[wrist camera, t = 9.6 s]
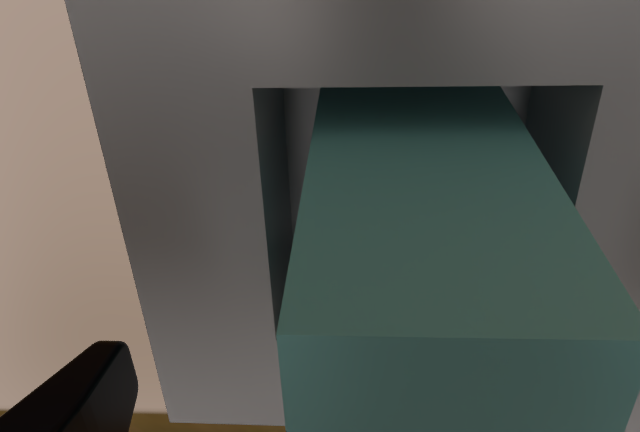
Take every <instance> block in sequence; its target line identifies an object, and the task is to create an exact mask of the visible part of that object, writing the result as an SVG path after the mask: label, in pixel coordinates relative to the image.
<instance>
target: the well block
mask: <svg viewBox="0 0 640 432" xmlns="http://www.w3.org/2000/svg"><path fill="white" fill-rule="evenodd" d="M65 4H66V8H67V12H68V16H69V20H70V24H71V28H72V32H73V36H74V40H75V44H76V48H77V52H78V56H79V60H80V64H81V68H82V72H83V76H84V80H85V84H86V88H87V92H88V96H89V100H90V104H91V108H92V112H93V116H94V120H95V124H96V128H97V132H98V136H99V140H100V144H101V148H102V152H103V156H104V160H105V164H106V168H107V172H108V176H109V180H110V184H111V188H112V192H113V196H114V200H115V204H116V208H117V212H118V216H119V220H120V224H121V228H122V232H123V236H124V240H125V244H126V248H127V252H128V256H129V260H130V264H131V268H132V272H133V276H134V280H135V284H136V288H137V292H138V296H139V300H140V304H141V308H142V312H143V316H144V320H145V324H146V328H147V333H148V336H149V340H150V344H151V348H152V352H153V356H154V361H155V365H156V369H157V373H158V377H159V381H160V384H161V388H162V393H163V397H164V400H165V405H166V409H167V413H168V417H169V421H170V422H178V423H209V424H241V425H272V426H285V417H284V408H283V398H282V388H281V378H280V368H279V359H278V349H277V339H276V333H277V327H278V321H279V316H280V310H281V305H282V299H283V294H284V288H285V282H286V277H287V271H288V266H289V260H290V255H291V249H292V244H293V238H294V232H295V227H296V221H297V216H298V210H299V205H300V199H301V193H302V188H303V182H304V177H305V171H306V166H307V160H308V154H309V149H310V143H311V138H312V132H313V127H314V121H315V115H316V110H317V104H318V99H319V93H320V88H322V87H446V86H501V88H502V90H503V91H504V93H505V94H506V96H507V98H508V99H509V101H510V103H511V104H512V106H513V107H514V109H515V111H516V112H517V114H518V115H519V117H520V119H521V120H522V122H523V124H524V125H525V127H526V128H527V130H528V132H529V133H530V135H531V137H532V138H533V140H534V141H535V143H536V145H537V146H538V148H539V149H540V151H541V153H542V154H543V156H544V158H545V159H546V161H547V162H548V164H549V166H550V167H551V169H552V171H553V172H554V174H555V175H556V177H557V179H558V180H559V182H560V183H561V185H562V187H563V188H564V190H565V192H566V193H567V195H568V196H569V198H570V200H571V201H572V203H573V205H574V206H575V208H576V209H577V211H578V213H579V214H580V216H581V217H582V219H583V221H584V222H585V224H586V226H587V227H588V229H589V230H590V232H591V234H592V235H593V237H594V239H595V240H596V242H597V243H598V245H599V247H600V248H601V250H602V252H603V253H604V255H605V256H606V258H607V260H608V261H609V263H610V264H611V266H612V268H613V269H614V271H615V273H616V274H617V276H618V277H619V279H620V281H621V282H622V284H623V286H624V287H625V289H626V290H627V292H628V294H629V295H630V297H631V298H632V300H633V302H634V303H635V305H636V307H637V308H638V310H639V311H640V0H65ZM625 432H640V391H639V394H638V396H637V399H636V402H635V404H634V407H633V410H632V413H631V415H630V418H629V421H628V424H627V426H626V429H625Z"/></svg>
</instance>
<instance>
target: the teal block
mask: <svg viewBox="0 0 640 432" xmlns="http://www.w3.org/2000/svg"><path fill="white" fill-rule="evenodd" d="M276 339H277V349H278V359H279V368H280V378H281V388H282V398H283V408H284V417H285V427H286V432H625V429H626V426H627V424H628V421H629V418H630V415H631V413H632V410H633V407H634V404H635V402H636V399H637V396H638V394H639V391H640V311H639V310H638V308H637V307H636V305H635V303H634V302H633V300H632V298H631V297H630V295H629V294H628V292H627V290H626V289H625V287H624V286H623V284H622V282H621V281H620V279H619V277H618V276H617V274H616V273H615V271H614V269H613V268H612V266H611V264H610V263H609V261H608V260H607V258H606V256H605V255H604V253H603V252H602V250H601V248H600V247H599V245H598V243H597V242H596V240H595V239H594V237H593V235H592V234H591V232H590V230H589V229H588V227H587V226H586V224H585V222H584V221H583V219H582V217H581V216H580V214H579V213H578V211H577V209H576V208H575V206H574V205H573V203H572V201H571V200H570V198H569V196H568V195H567V193H566V192H565V190H564V188H563V187H562V185H561V183H560V182H559V180H558V179H557V177H556V175H555V174H554V172H553V171H552V169H551V167H550V166H549V164H548V162H547V161H546V159H545V158H544V156H543V154H542V153H541V151H540V149H539V148H538V146H537V145H536V143H535V141H534V140H533V138H532V137H531V135H530V133H529V132H528V130H527V128H526V127H525V125H524V124H523V122H522V120H521V119H520V117H519V115H518V114H517V112H516V111H515V109H514V107H513V106H512V104H511V103H510V101H509V99H508V98H507V96H506V94H505V93H504V91H503V90H502V88H501V86H446V87H322V88H320V93H319V99H318V104H317V110H316V115H315V121H314V127H313V132H312V138H311V143H310V149H309V154H308V160H307V166H306V171H305V177H304V182H303V188H302V193H301V199H300V205H299V210H298V216H297V221H296V227H295V232H294V238H293V244H292V249H291V255H290V260H289V266H288V271H287V277H286V282H285V288H284V294H283V299H282V305H281V310H280V316H279V321H278V327H277V333H276Z"/></svg>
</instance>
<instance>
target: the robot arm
mask: <svg viewBox="0 0 640 432" xmlns="http://www.w3.org/2000/svg"><path fill="white" fill-rule="evenodd" d="M137 393H138V380H137V376H136V372H135V369H134V365H133V362H132V358H131V354H130V351H129V348H128V346H127V344H126V343H124V342H122V341H98V342H96V343H94V344H92V345H91V346H90V347H88V348H87V349H86V350H85V351H83V352H82V353H81V354H80V355H78V356H77V357H76V358H74V359H73V360H72V361H71V362H69V363H68V364H67V365H66V366H64V367H63V368H62V369H60V370H59V371H58V372H57V373H56V374H54V375H53V376H52V377H50V378H49V379H48V380H47V381H45V382H44V383H43V384H42V385H40V386H39V387H38V388H36V389H35V390H34V391H33V392H31V393H30V394H29V395H27V396H26V397H25V398H24V399H22V400H21V401H20V402H19V403H17V404H16V405H15V406H13V407H12V408H11V409H10V410H8V411H7V412H6V413H5V414H3V415H2V416H1V417H0V432H128V431H129V427H130V423H131V419H132V415H133V411H134V407H135V402H136V398H137Z"/></svg>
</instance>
